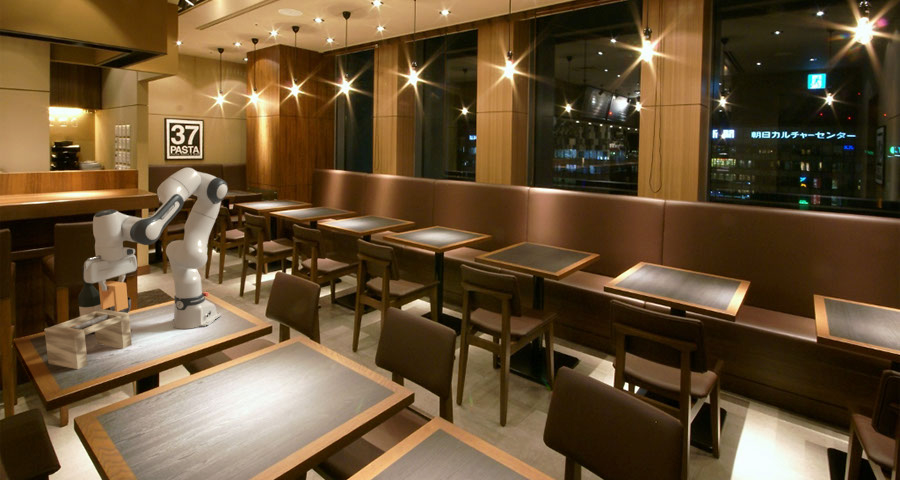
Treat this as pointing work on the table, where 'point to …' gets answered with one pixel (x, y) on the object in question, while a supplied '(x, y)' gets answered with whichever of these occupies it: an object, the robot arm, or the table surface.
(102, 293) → the upright wooden block
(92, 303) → the wine bottle
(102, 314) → the shelf
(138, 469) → the table surface
